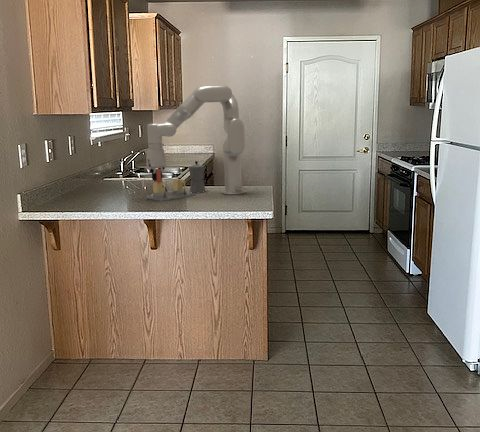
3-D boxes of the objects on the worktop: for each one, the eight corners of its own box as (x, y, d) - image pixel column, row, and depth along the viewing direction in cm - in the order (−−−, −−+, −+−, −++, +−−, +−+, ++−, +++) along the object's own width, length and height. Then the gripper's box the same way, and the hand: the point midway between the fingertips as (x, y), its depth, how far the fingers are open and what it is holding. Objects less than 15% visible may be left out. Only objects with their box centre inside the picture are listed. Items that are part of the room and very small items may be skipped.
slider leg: (167, 195, 299) (166, 169, 296) (162, 196, 296) (161, 170, 294) (158, 194, 305) (157, 168, 302) (153, 194, 302) (152, 169, 299)
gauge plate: (195, 195, 309) (195, 179, 307) (161, 200, 292) (160, 184, 291) (180, 193, 318) (179, 178, 317) (146, 198, 302) (145, 182, 300)
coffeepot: (204, 193, 315) (202, 162, 311) (187, 193, 315) (186, 162, 312) (207, 189, 330) (206, 159, 326) (192, 189, 330) (190, 160, 327)
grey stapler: (172, 194, 316) (166, 178, 313) (165, 197, 314) (158, 181, 311) (166, 190, 331) (160, 175, 328) (159, 193, 330) (152, 178, 327)
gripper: (163, 145, 305) (165, 178, 309) (138, 147, 294) (141, 181, 297) (171, 145, 300) (173, 178, 303) (147, 147, 289) (149, 182, 292)
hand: (157, 179), depth 300 cm, fingers closed on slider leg, 3 cm apart
